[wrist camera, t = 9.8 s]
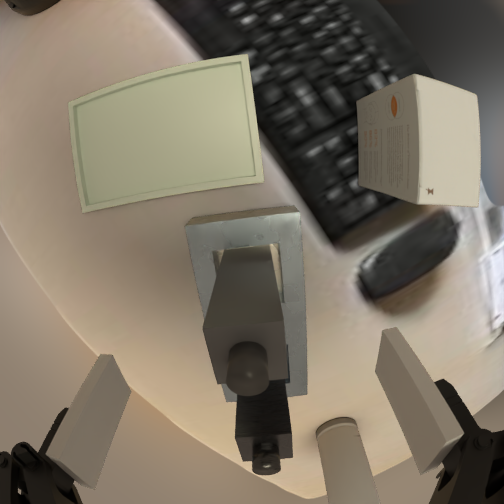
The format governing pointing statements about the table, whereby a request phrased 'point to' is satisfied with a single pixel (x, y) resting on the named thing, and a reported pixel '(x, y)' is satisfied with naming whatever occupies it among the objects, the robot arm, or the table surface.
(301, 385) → the grey stand
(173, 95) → the tray
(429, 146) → the small box
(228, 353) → the plug
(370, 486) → the travel mug
